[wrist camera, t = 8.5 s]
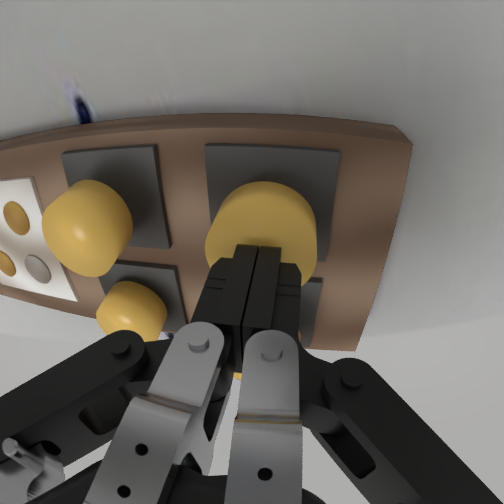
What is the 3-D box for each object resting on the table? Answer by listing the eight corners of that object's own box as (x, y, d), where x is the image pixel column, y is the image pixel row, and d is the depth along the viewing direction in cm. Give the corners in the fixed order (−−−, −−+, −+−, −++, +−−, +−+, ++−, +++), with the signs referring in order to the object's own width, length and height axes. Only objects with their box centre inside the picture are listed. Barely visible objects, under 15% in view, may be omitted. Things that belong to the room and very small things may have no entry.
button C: (214, 179, 12) (199, 203, 10) (320, 185, 12) (322, 211, 10) (220, 261, 14) (210, 292, 13) (310, 268, 14) (310, 301, 12)
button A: (56, 181, 13) (31, 201, 11) (123, 178, 13) (99, 201, 11) (77, 248, 15) (58, 272, 14) (140, 254, 15) (123, 281, 13)
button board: (-32, 150, 18) (-59, 168, 15) (394, 126, 14) (416, 147, 11) (16, 275, 26) (-2, 297, 24) (352, 318, 23) (355, 357, 20)
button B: (102, 277, 18) (87, 300, 16) (160, 285, 18) (147, 310, 16) (119, 321, 20) (108, 343, 19) (172, 330, 20) (163, 354, 18)
